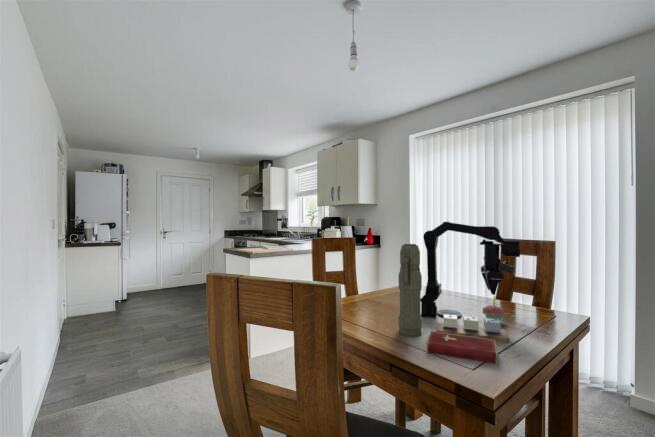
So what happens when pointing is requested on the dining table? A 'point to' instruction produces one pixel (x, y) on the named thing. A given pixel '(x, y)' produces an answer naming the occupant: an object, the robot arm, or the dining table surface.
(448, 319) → the tile one
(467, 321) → the tile two
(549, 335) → the dining table surface
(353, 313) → the dining table surface
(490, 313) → the cupcake
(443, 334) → the hardcover book
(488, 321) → the tile three
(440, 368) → the dining table surface
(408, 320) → the moai stone figurine
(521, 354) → the dining table surface
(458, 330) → the wooden plank tray
